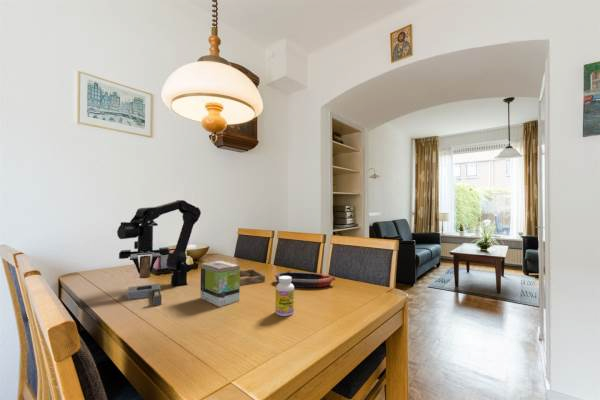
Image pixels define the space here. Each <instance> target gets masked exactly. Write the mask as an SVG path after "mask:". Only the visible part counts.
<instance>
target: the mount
mask: <svg viewBox="0 0 600 400" xmlns="http://www.w3.org/2000/svg"><path fill="white" fill-rule="evenodd" d="M156 291H159V295H161V293H162V291H161V284H160V283H153V284H152V283H151V284H144V285H136V286H130V287H129V286H128V290H127V301H132V300H133V301H134V300H138V299H139V300H140V298H141V299H146V298H147V297H148V298H153V296H154V292H156Z"/></svg>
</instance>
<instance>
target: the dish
mask: <svg viewBox="0 0 600 400" xmlns="http://www.w3.org/2000/svg"><path fill="white" fill-rule="evenodd" d="M280 276H290V277H292V281H291V284H293V285H294V288H309V289H310V288H311V289H314V288H315V287H317V288H324V287H328V286H330V285H331V284H332V283H333V282H334V281H336V276H333V275H329V274H324V273H319V272H318V273H316V272H303V271H302V272H301V271H300V272H299V271H290V270H287V271H285V272H278V273H275V275H274V278H275V280H276V281H277V283H279V277H280ZM323 286H324V287H323Z"/></svg>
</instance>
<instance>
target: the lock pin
mask: <svg viewBox="0 0 600 400" xmlns="http://www.w3.org/2000/svg"><path fill="white" fill-rule="evenodd" d="M152 298H153V299H152V304H153V306H157V305H162V298H163V297H162V294H160V295H159V290H155V291H153V297H152Z"/></svg>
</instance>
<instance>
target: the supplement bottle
mask: <svg viewBox="0 0 600 400" xmlns="http://www.w3.org/2000/svg"><path fill="white" fill-rule="evenodd" d="M291 281H292V277H290V276H280V277H279V282H278V283H277V284H276V285H275V314H277V316H280V317H289V316H291V315H293V314H294V311H295V287H294V285H293V284H291Z"/></svg>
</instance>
